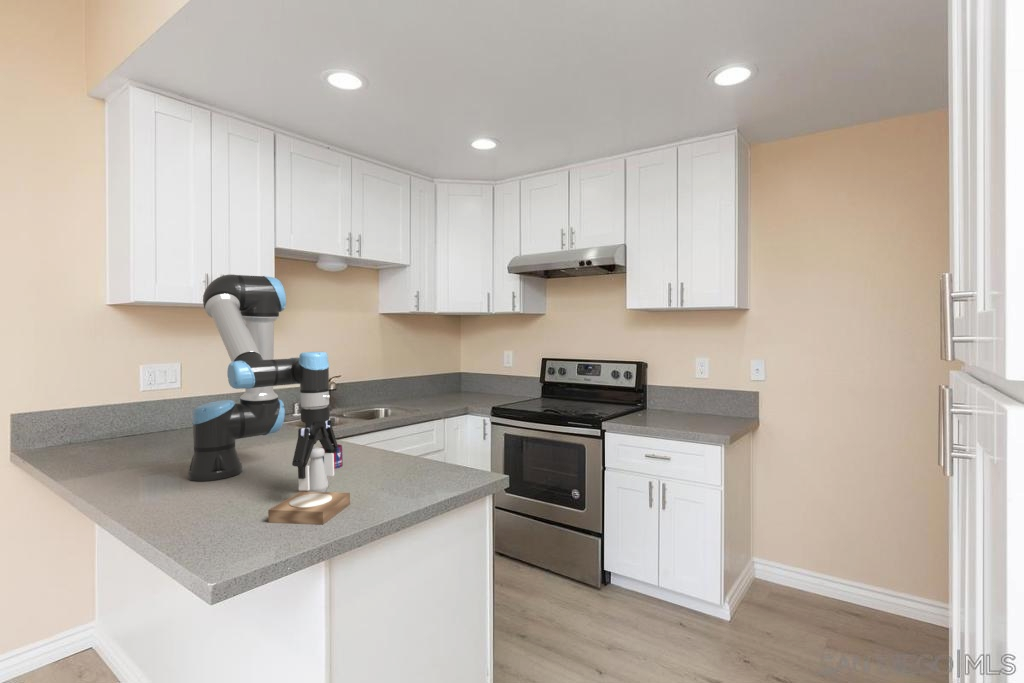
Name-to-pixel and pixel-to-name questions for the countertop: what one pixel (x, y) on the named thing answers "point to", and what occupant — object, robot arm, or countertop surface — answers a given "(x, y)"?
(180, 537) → the countertop surface
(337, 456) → the mug
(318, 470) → the salt shaker
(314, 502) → the stand
